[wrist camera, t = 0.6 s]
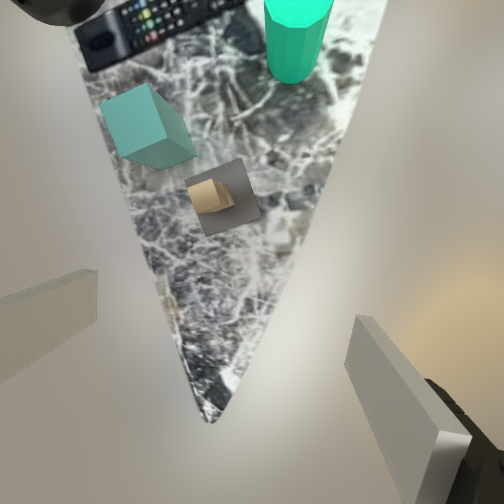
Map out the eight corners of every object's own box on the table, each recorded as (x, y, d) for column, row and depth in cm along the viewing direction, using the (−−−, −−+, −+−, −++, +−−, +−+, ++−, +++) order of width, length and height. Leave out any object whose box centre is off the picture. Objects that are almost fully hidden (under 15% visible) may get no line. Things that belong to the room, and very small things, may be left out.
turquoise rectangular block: (146, 131, 35) (98, 104, 26) (182, 116, 34) (146, 82, 25) (161, 170, 36) (120, 157, 26) (196, 155, 35) (167, 137, 26)
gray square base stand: (185, 180, 36) (151, 171, 26) (241, 158, 34) (227, 139, 25) (207, 236, 37) (182, 248, 27) (261, 217, 36) (256, 221, 26)
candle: (293, 17, 31) (304, -97, 19) (327, 56, 32) (358, -33, 20) (256, 58, 32) (245, -27, 21) (290, 95, 33) (298, 33, 21)
